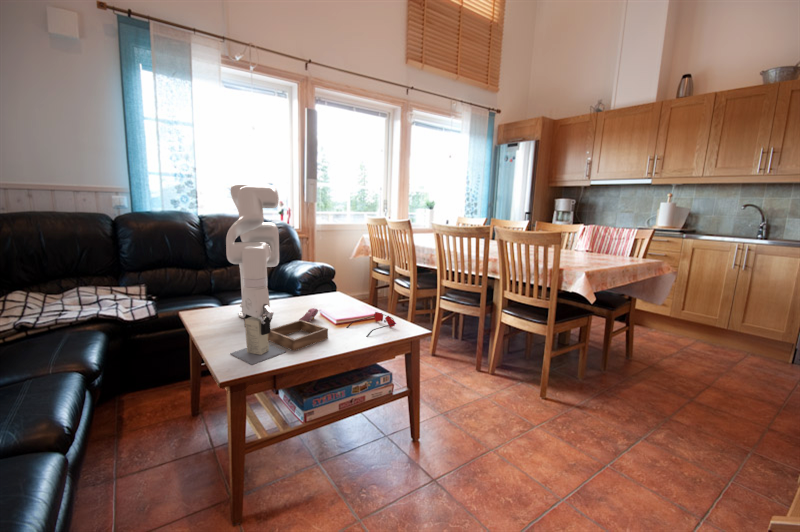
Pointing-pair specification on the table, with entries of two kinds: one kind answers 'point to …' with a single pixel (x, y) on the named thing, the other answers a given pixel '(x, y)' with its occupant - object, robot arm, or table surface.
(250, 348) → the skincare box
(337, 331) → the table surface
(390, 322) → the glasses
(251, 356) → the grey mat
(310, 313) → the pink animal figurine
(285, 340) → the walnut box
